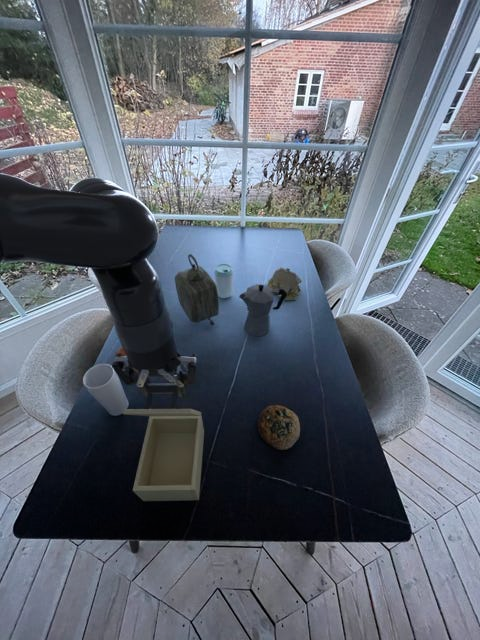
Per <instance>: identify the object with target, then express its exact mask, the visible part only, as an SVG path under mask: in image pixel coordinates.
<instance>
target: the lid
mask: <svg viewBox="0 0 480 640" xmlns="http://www.w3.org/2000/svg"><path fill="white" fill-rule="evenodd" d="M176 386H177V385H176V384H175V383H174V382H170V383H151V384H148V385H147V394H148V396H147V397H146V406H145V409H144V408H130V409H129V408H127V409H124V410H123V413H122V415H126V416H139V417H150V416H202V412H201V411H199V410H196V409H194V408H193V409H192V408H177V400H178V391H177V388H176ZM156 394H157V395H160V394H161V395H163V394H164V395H166V394H168V395H171V394H172V397H171V408H152V401H153V395H156Z"/></svg>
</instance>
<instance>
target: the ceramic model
mask: <svg viewBox="0 0 480 640" xmlns="http://www.w3.org/2000/svg"><path fill="white" fill-rule="evenodd" d="M302 282H303V281H302V279H301V277H299V276H298V275H297V273H296V272H294V271H291V269H290V268H288V267H286V268H284V267H279V268H277V269H276V270H275V271H274V273H273V274H272V277H271V278H269V279H268V281H267V286H269V287H270V288H271V289H272V290H273V289H284V290H285V291H286V292H287V296H286V298H285V300H284V301H296V300H298V296H299V295H300V294H301V292H302V289H301V285H300V284H301V283H302ZM277 296H278V297H279V298H280V297H281V295H277Z"/></svg>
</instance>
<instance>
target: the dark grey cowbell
mask: <svg viewBox="0 0 480 640" xmlns="http://www.w3.org/2000/svg"><path fill="white" fill-rule="evenodd" d="M187 257H188V261H189V264H190V267H191V268H188V269H185V270H182V271H179V272H178V273H176V275H175V276H174V283H175V290H176V294H177V299H178V302H179V305H180V306H181V308H182V309H183V311H184V313H185V315H186V316H187V318H188V319H189V321H191V322H192V323H201V322H203V321H206V320H208V321H209V324H210V325H211V326H214V325H215V324H216V322H215V320H213V319H212V318H213V317H217V316H219V311H220V310H219V308H220V307H219V306H220V305H219V297H218V293H217V288H216V285H215V282H214V279H213V278H212V277H211V276H210V274H209V273H208V272H207V271H206V270H205V269H204V268H203V267H202V266H201V265H199V264H198V261H197V259H196V257H194V255H193V254H192V253H188V256H187ZM192 260H193V262H194V263H193V262H192Z"/></svg>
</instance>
